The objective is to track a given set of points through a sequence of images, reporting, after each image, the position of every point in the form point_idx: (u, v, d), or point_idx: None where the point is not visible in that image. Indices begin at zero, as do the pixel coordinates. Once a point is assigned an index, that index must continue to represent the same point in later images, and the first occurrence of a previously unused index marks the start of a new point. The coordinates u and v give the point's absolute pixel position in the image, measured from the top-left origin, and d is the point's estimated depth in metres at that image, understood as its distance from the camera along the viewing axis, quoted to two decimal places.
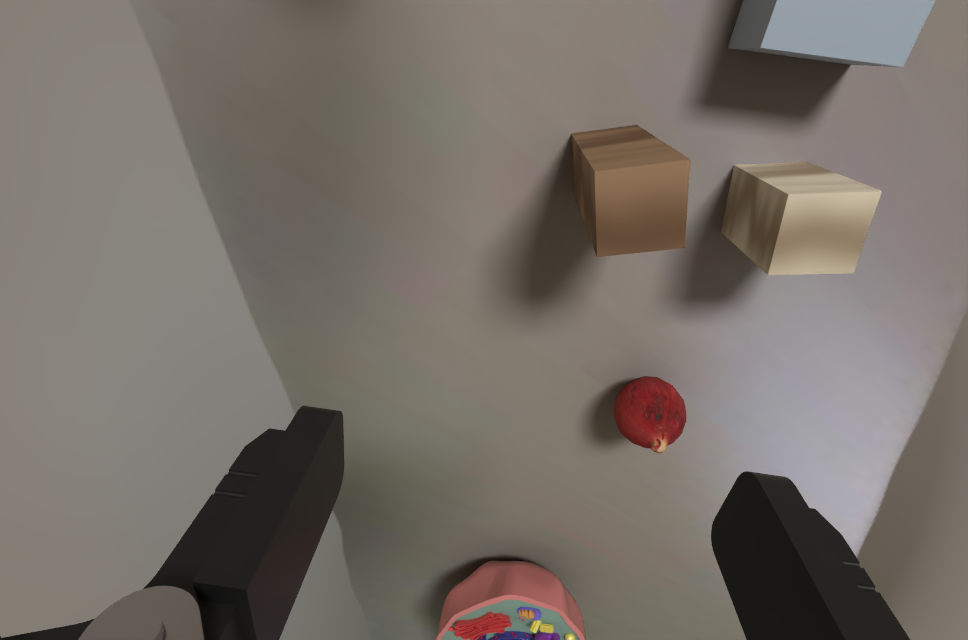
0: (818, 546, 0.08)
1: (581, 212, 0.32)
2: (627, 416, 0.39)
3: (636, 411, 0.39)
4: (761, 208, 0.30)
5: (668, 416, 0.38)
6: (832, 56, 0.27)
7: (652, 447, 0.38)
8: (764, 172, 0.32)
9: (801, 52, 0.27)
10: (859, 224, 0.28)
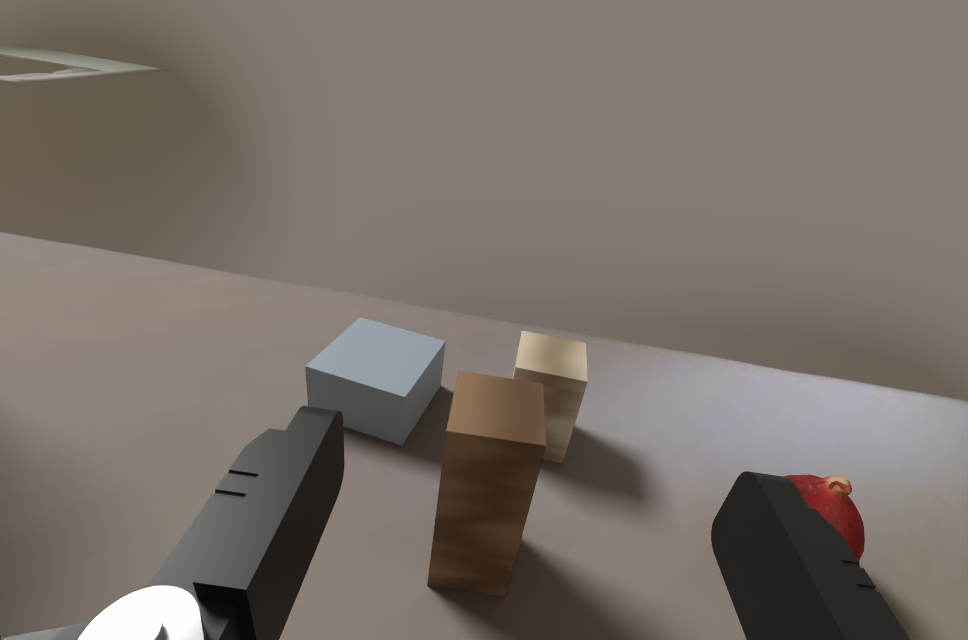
0: (818, 546, 0.08)
1: (514, 545, 0.25)
2: None
3: None
4: None
5: None
6: (426, 366, 0.37)
7: (846, 492, 0.27)
8: None
9: (418, 379, 0.36)
10: (545, 339, 0.37)
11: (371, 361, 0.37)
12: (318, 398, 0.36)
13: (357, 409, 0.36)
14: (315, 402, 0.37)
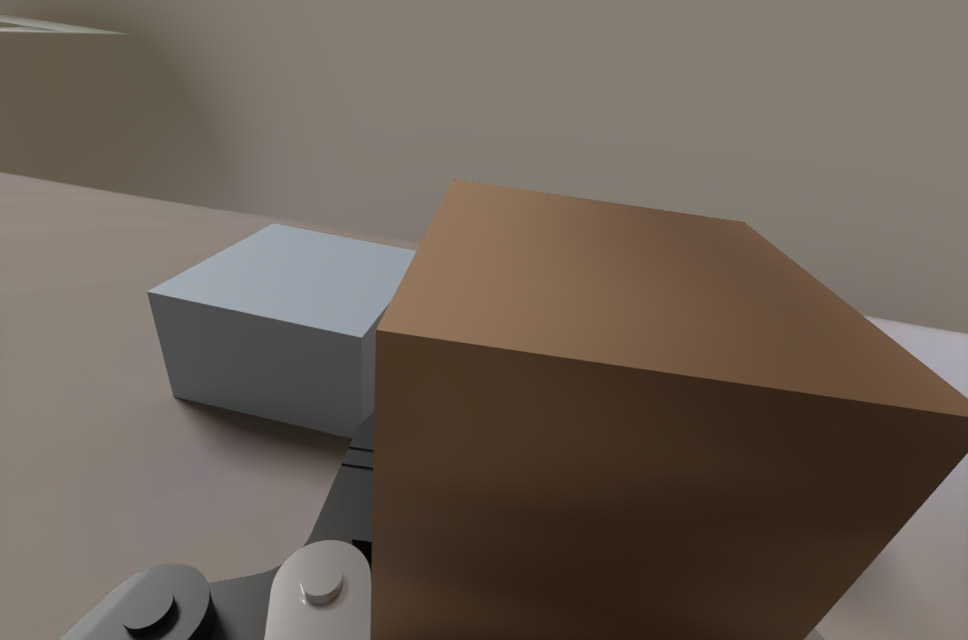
0: None
1: None
2: None
3: None
4: None
5: None
6: None
7: None
8: None
9: (385, 308, 0.18)
10: None
11: (292, 282, 0.19)
12: (185, 359, 0.18)
13: (265, 374, 0.18)
14: (181, 369, 0.19)
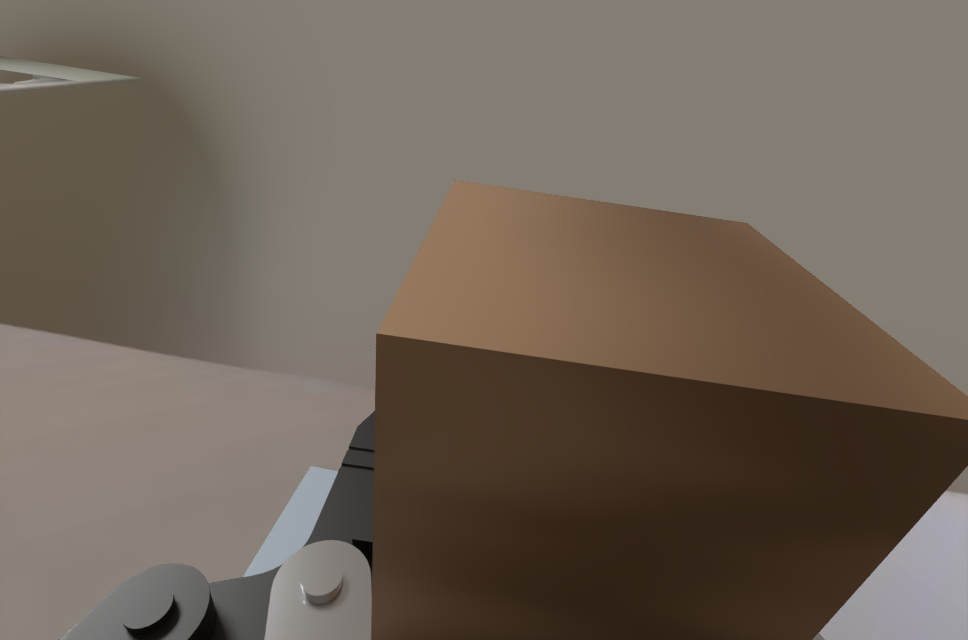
0: None
1: None
2: None
3: None
4: None
5: None
6: None
7: None
8: None
9: None
10: None
11: None
12: None
13: None
14: None
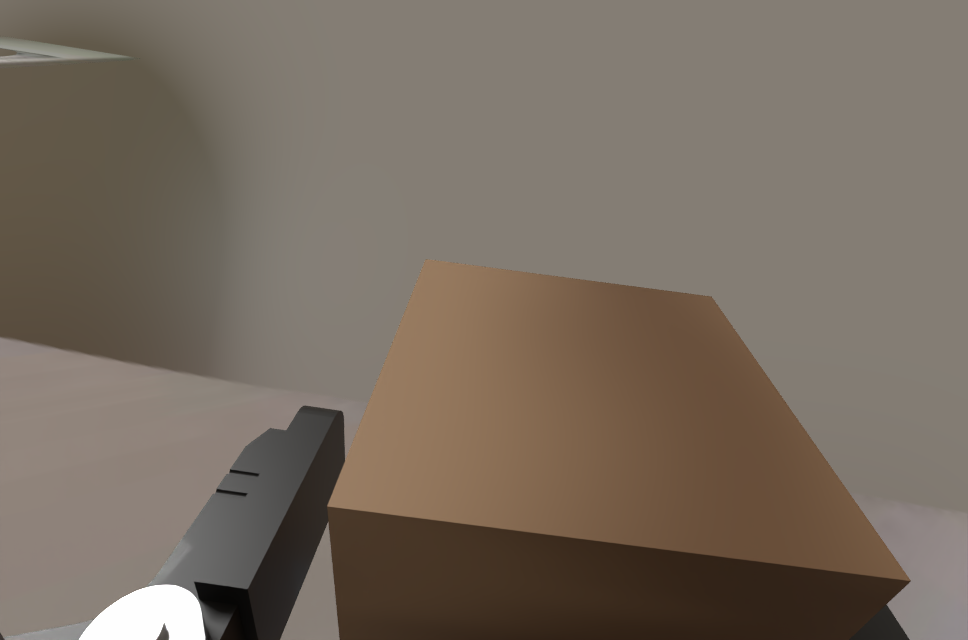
0: None
1: None
2: None
3: None
4: None
5: None
6: None
7: None
8: None
9: None
10: None
11: None
12: None
13: None
14: None
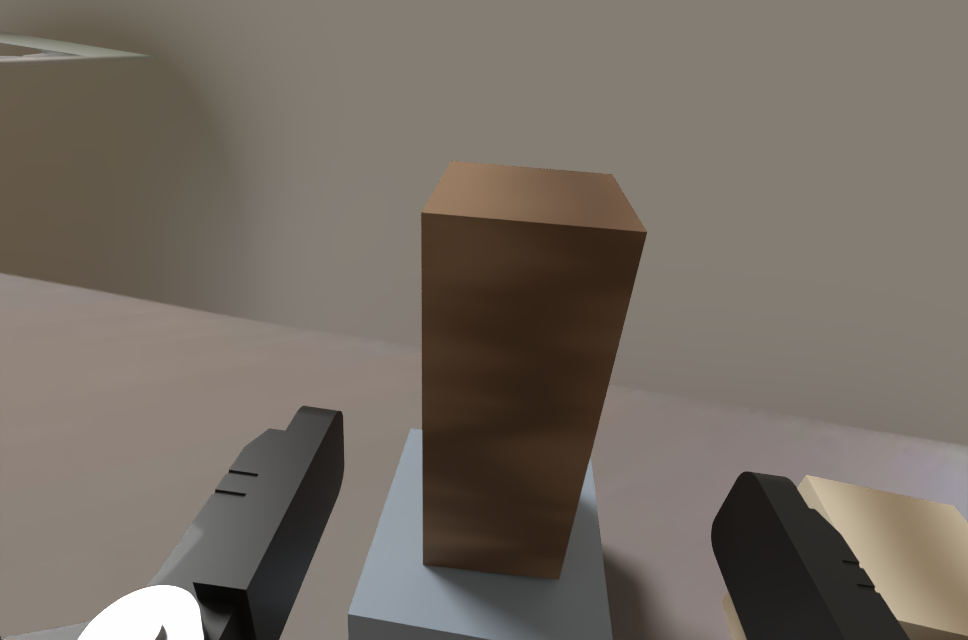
0: (818, 546, 0.08)
1: (575, 480, 0.13)
2: None
3: None
4: None
5: None
6: (599, 539, 0.18)
7: None
8: None
9: (604, 585, 0.16)
10: (869, 500, 0.16)
11: None
12: None
13: None
14: None
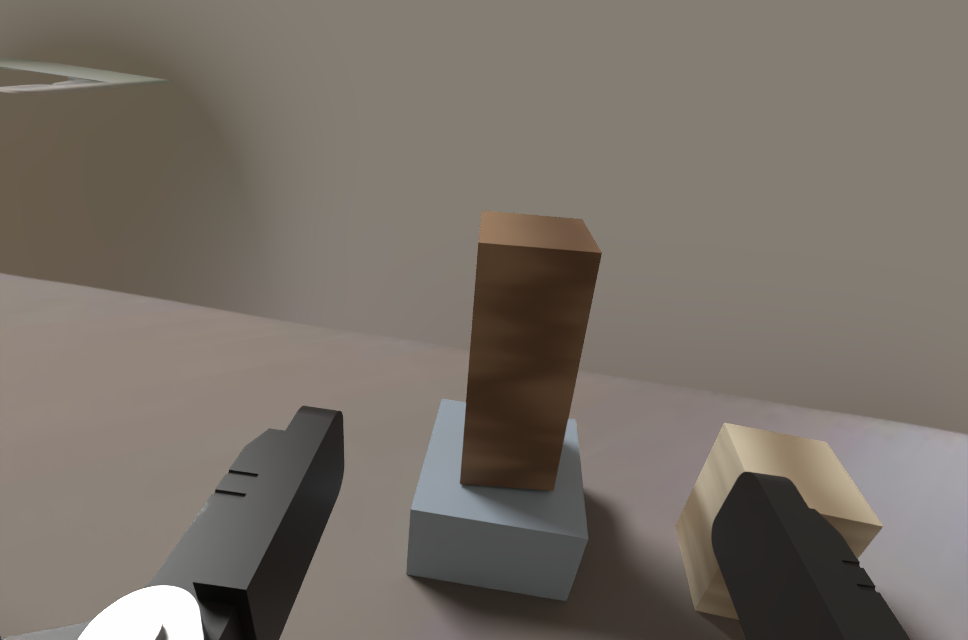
0: (818, 546, 0.08)
1: (564, 411, 0.21)
2: None
3: None
4: None
5: None
6: (580, 470, 0.25)
7: None
8: (707, 560, 0.23)
9: (582, 497, 0.23)
10: (766, 437, 0.24)
11: None
12: (427, 550, 0.23)
13: (496, 561, 0.23)
14: (421, 557, 0.23)
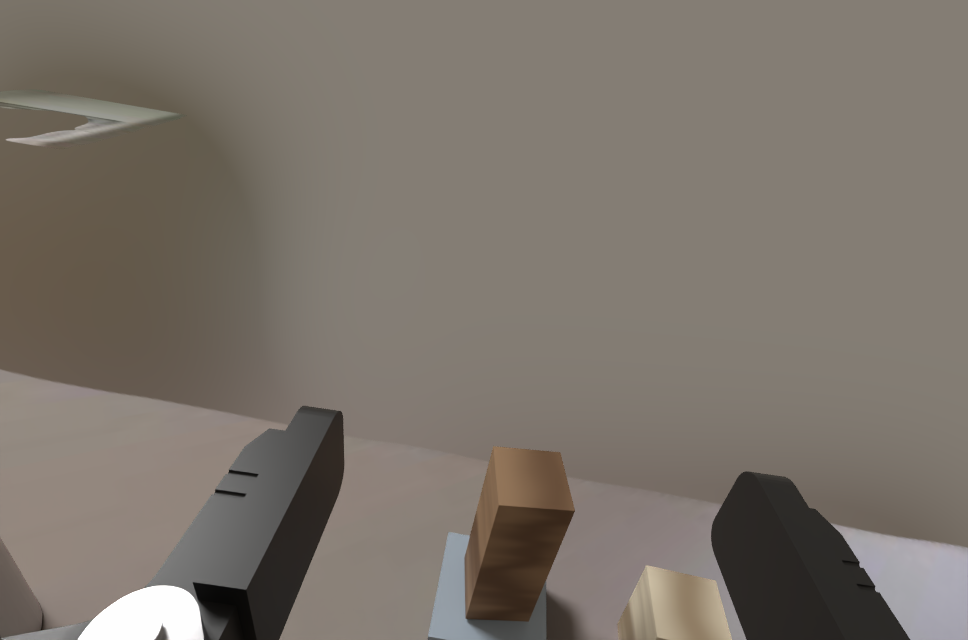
0: (818, 546, 0.08)
1: (541, 582, 0.31)
2: None
3: None
4: None
5: None
6: (545, 598, 0.35)
7: None
8: None
9: (545, 622, 0.34)
10: (673, 578, 0.34)
11: None
12: None
13: None
14: None
